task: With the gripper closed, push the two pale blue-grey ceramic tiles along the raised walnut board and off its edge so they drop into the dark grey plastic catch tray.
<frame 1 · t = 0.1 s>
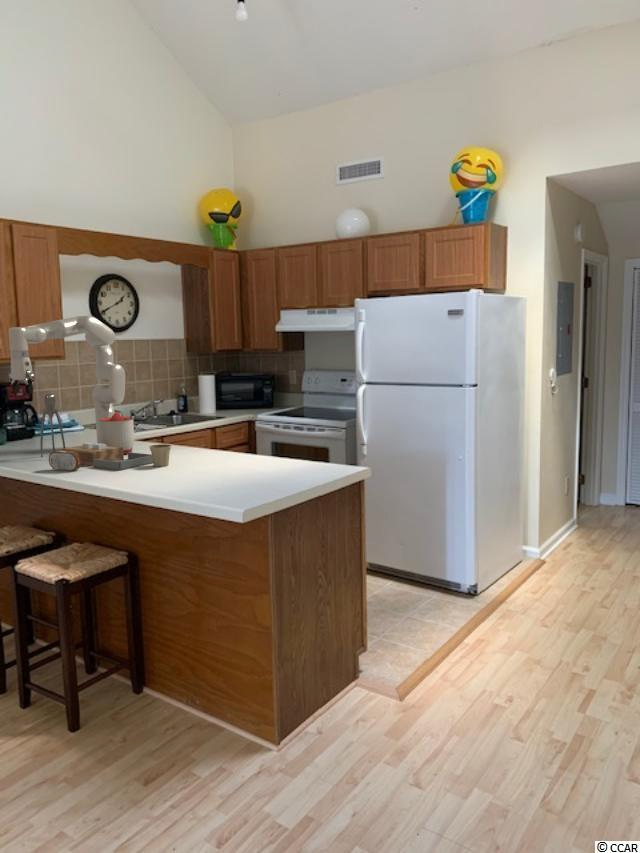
hand: (22, 393, 301), 31 cm above the countertop, tool pointing down, fingers open, 9 cm apart
juicer: (50, 457, 315), on the countertop
flower pot: (161, 466, 287), on the countertop
tin: (65, 470, 281), on the countertop
tile a: (89, 447, 302), point 6 cm above the countertop, touching board
board: (93, 461, 302), on the countertop
tray: (124, 464, 291), on the countertop
tile b: (99, 448, 298), point 6 cm above the countertop, touching board
citrus juicer: (120, 453, 321), on the countertop
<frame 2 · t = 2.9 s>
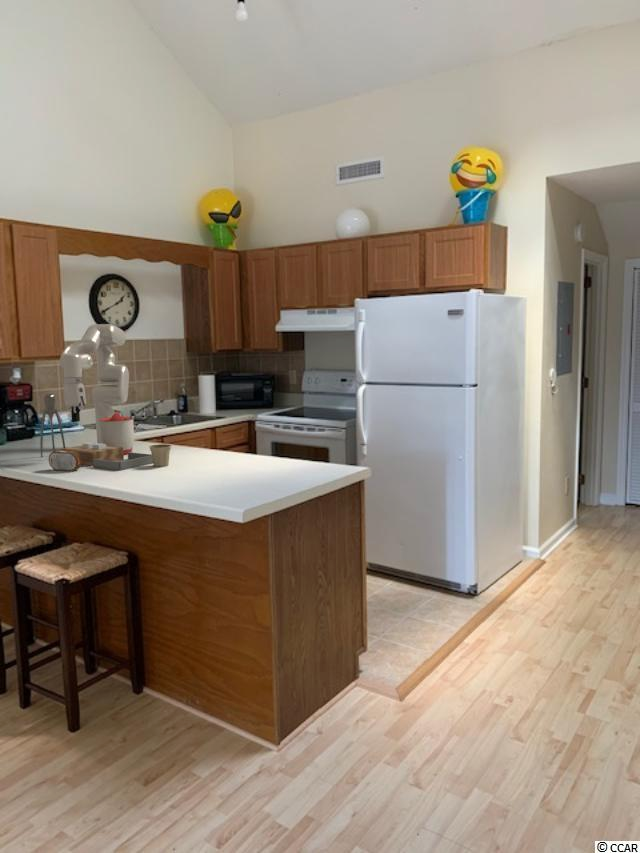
hand: (75, 421, 304), 18 cm above the countertop, tool pointing down, fingers closed
nothing on the countertop moved.
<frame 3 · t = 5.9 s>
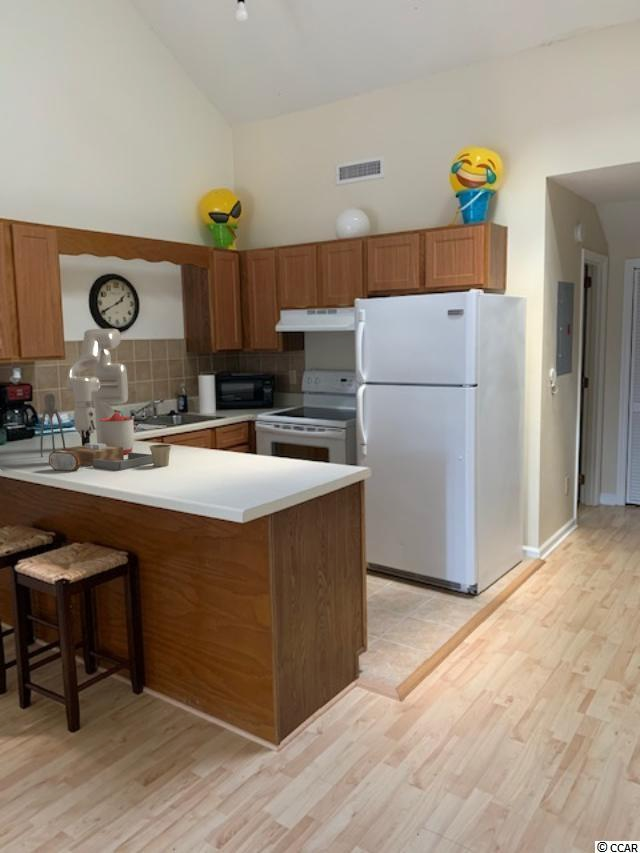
hand: (86, 445, 303), 7 cm above the countertop, tool pointing down, fingers closed
tile a: (91, 447, 301), point 6 cm above the countertop, touching gripper
everything else where it was.
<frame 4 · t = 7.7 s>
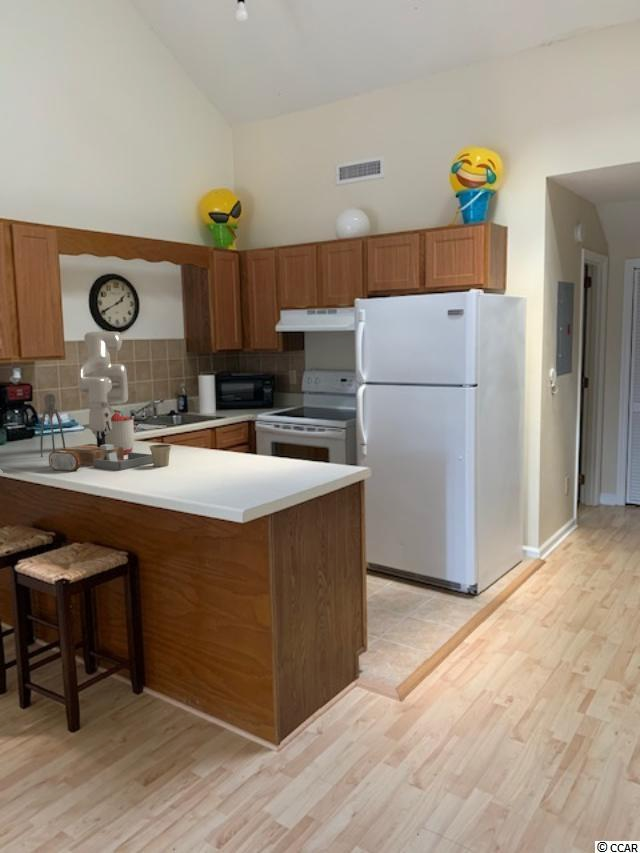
hand: (101, 446, 298), 7 cm above the countertop, tool pointing down, fingers closed
tile a: (107, 449, 296), point 6 cm above the countertop, touching board, gripper
tile b: (110, 457, 296), point 2 cm above the countertop, tilted 78°, touching board, tray
everything else where it was.
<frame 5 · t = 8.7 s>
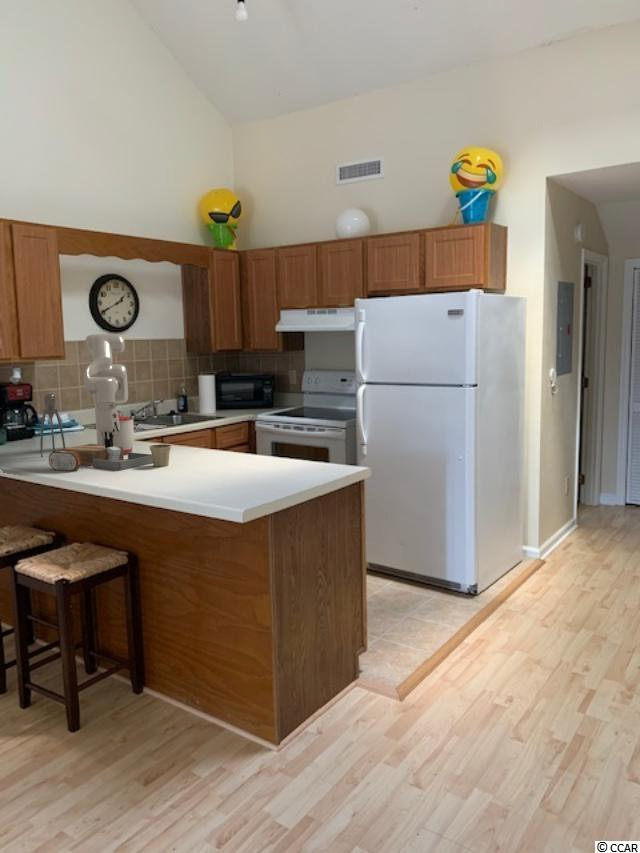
hand: (109, 447, 295), 7 cm above the countertop, tool pointing down, fingers closed
tile a: (113, 452, 294), point 5 cm above the countertop, tilted 14°, touching tile b
tile b: (112, 456, 295), point 3 cm above the countertop, tilted 116°, touching tile a, tray
everything else where it was.
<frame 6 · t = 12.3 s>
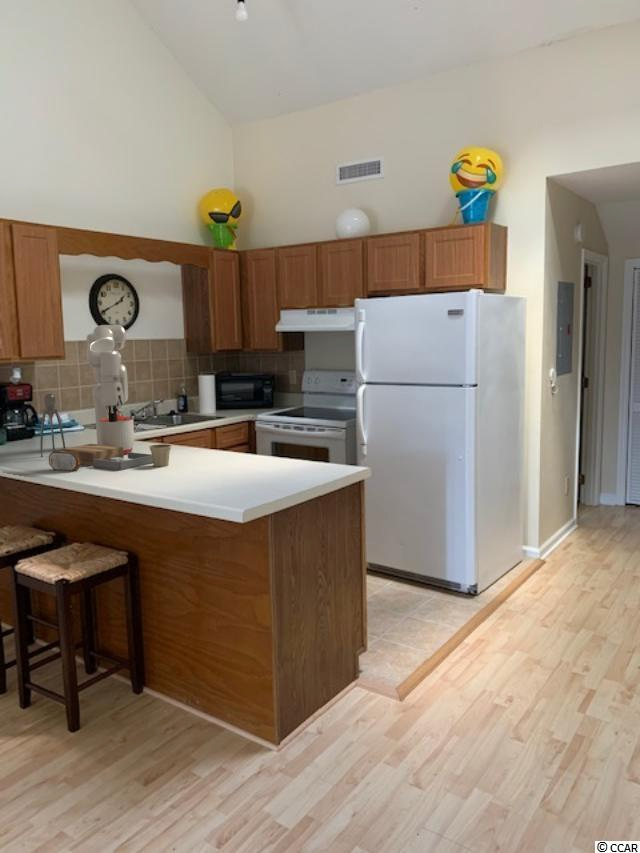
hand: (113, 421, 292), 19 cm above the countertop, tool pointing down, fingers closed
tile a: (126, 459, 290), point 2 cm above the countertop, tilted 180°, touching tray
tile b: (116, 458, 293), point 2 cm above the countertop, tilted 180°, touching tray
everything else where it was.
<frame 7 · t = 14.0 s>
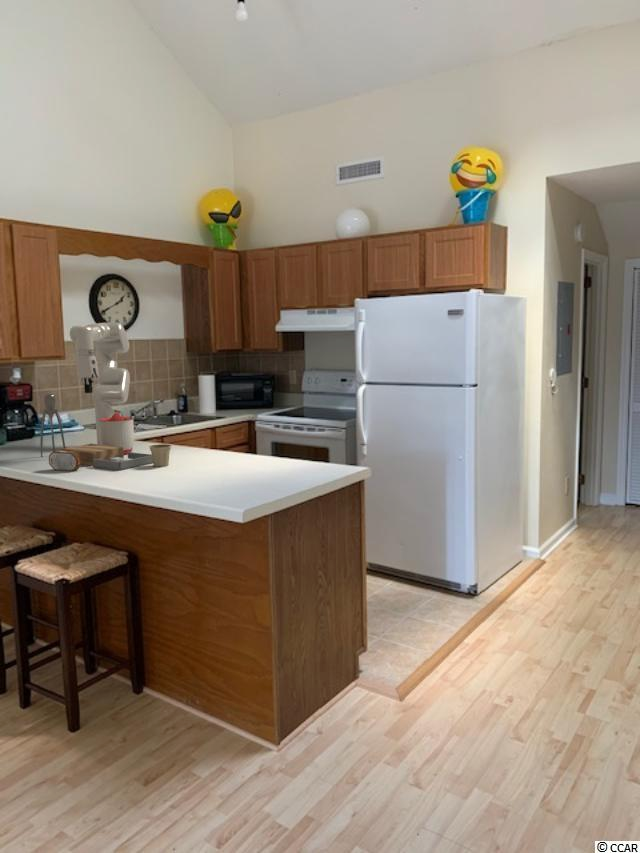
hand: (88, 392, 313), 30 cm above the countertop, tool pointing down, fingers closed
nothing on the countertop moved.
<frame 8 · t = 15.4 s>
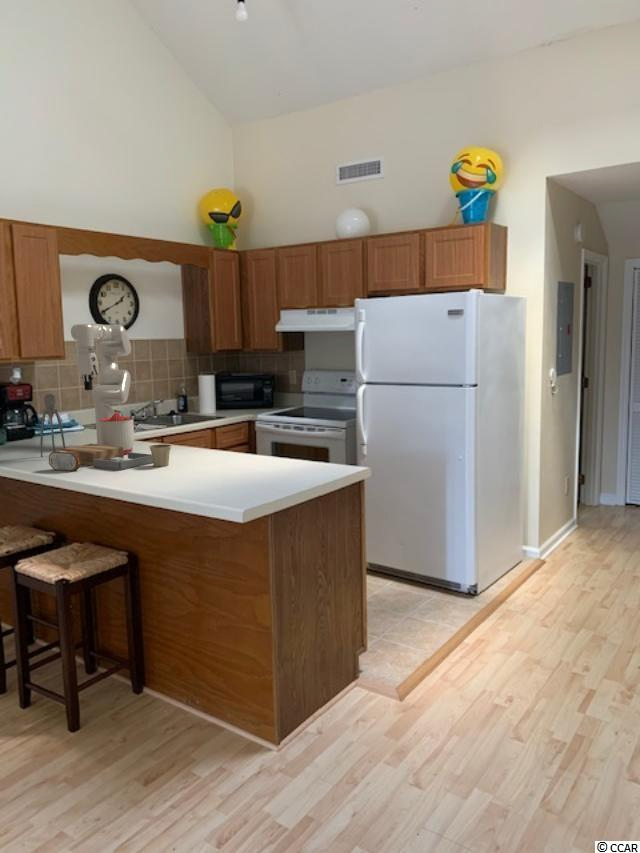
hand: (88, 389, 315), 31 cm above the countertop, tool pointing down, fingers closed
nothing on the countertop moved.
at the end: tile a inside the target area (1.1 cm from its centre), point 2.5 cm above the countertop; tile b inside the target area (5.2 cm from its centre), point 2.5 cm above the countertop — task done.
